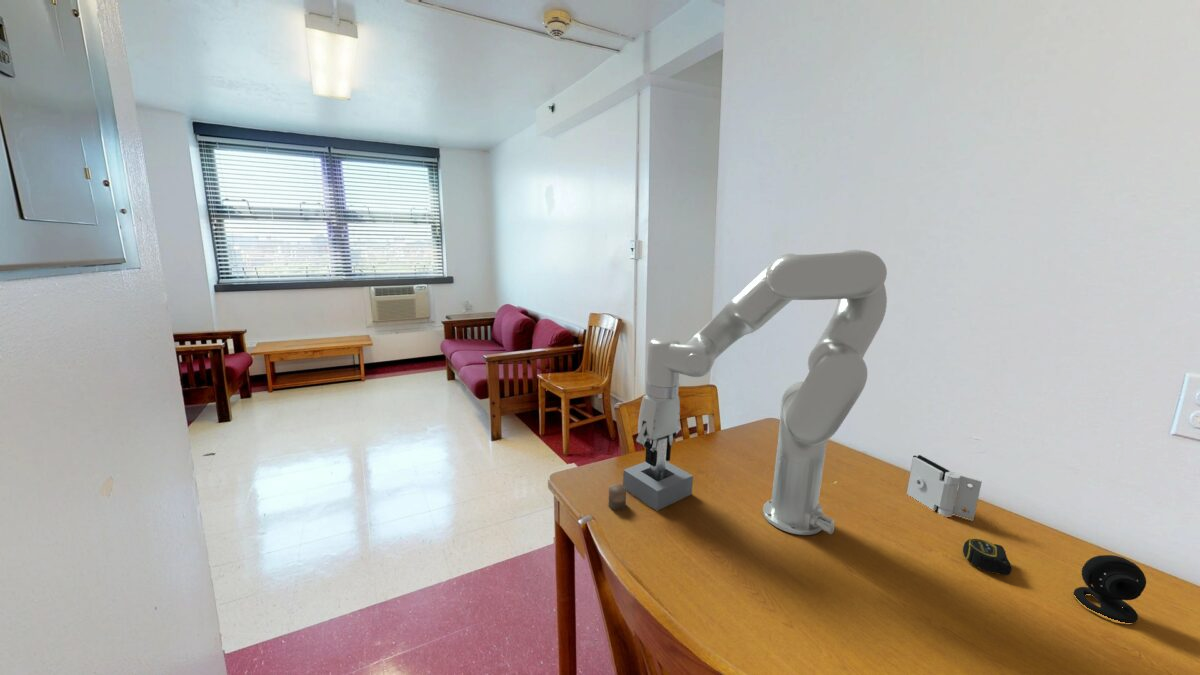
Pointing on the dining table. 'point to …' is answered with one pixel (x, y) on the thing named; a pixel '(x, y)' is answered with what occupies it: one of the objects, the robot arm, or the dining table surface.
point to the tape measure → (987, 556)
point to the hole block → (657, 485)
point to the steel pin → (659, 460)
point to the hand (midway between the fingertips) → (657, 460)
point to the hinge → (942, 488)
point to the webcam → (1112, 586)
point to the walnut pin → (617, 497)
